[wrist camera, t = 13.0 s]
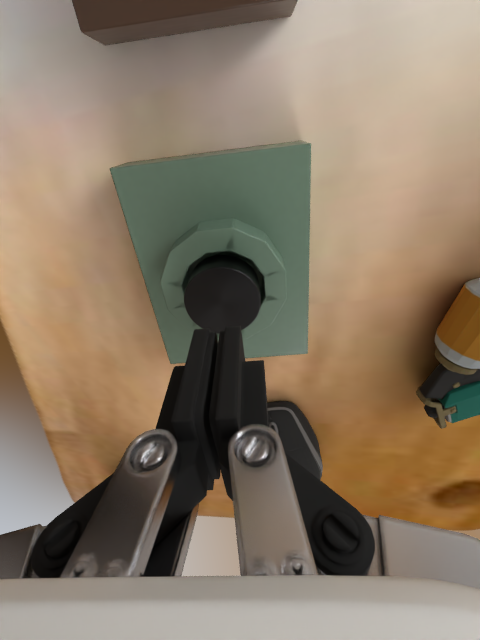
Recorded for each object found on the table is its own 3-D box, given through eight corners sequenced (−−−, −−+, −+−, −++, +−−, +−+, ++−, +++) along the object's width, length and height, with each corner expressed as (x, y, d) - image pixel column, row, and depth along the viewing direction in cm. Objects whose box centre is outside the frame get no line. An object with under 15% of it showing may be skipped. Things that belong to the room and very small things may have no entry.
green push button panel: (126, 162, 17) (93, 173, 14) (302, 140, 17) (319, 145, 13) (177, 341, 24) (164, 381, 21) (301, 331, 24) (312, 371, 20)
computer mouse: (305, 392, 27) (314, 430, 24) (324, 467, 34) (333, 504, 30) (231, 406, 28) (230, 444, 25) (263, 476, 35) (265, 513, 32)
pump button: (182, 258, 16) (175, 271, 15) (256, 250, 16) (258, 263, 14) (196, 320, 18) (191, 337, 17) (262, 314, 18) (263, 331, 16)
